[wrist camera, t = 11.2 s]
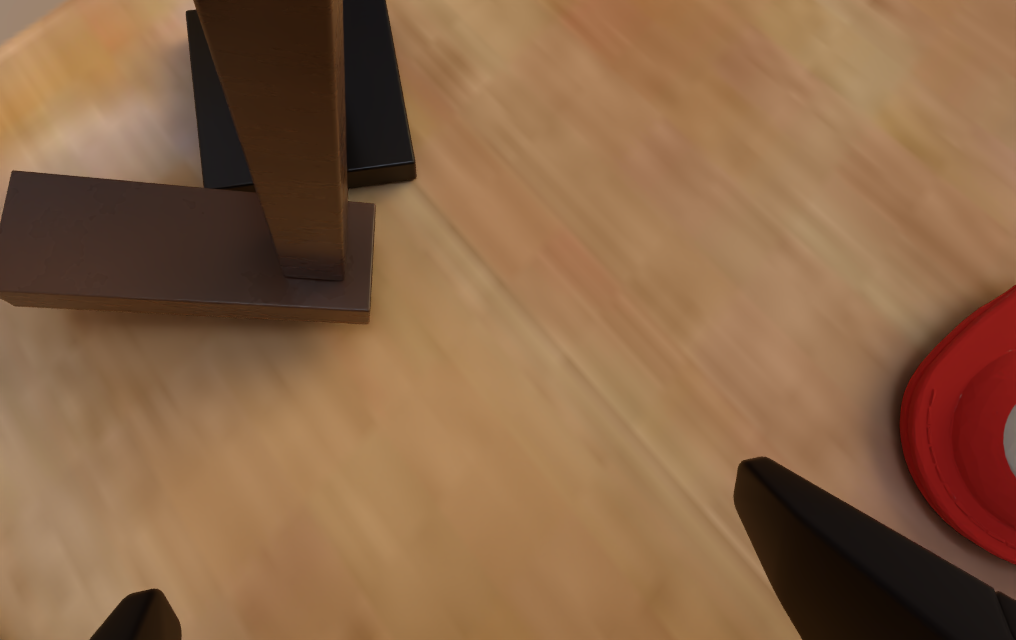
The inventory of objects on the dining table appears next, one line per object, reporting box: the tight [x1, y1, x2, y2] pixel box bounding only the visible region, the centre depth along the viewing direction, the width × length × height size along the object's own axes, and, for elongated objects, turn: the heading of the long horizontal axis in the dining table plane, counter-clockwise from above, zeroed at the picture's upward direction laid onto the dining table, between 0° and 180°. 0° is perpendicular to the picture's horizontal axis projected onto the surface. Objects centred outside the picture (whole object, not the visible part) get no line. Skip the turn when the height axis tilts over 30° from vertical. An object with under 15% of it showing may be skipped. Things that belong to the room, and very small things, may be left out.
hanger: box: [0, 0, 376, 324], centre depth 11 cm, size 3×9×14 cm, turn 90°
